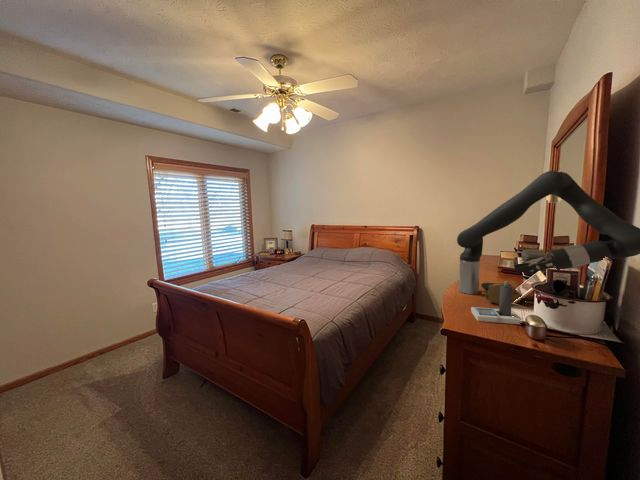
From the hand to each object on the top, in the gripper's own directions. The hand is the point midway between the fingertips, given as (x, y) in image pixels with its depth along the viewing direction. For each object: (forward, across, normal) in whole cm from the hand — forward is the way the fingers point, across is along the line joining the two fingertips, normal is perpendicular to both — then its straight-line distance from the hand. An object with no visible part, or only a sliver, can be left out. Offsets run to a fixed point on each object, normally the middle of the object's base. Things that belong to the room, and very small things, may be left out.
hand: (515, 269), depth 103 cm
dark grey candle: (+10, -1, +18) cm, 21 cm away
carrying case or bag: (+9, -43, +16) cm, 46 cm away
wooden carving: (+10, -20, +17) cm, 28 cm away
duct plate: (+13, 0, +17) cm, 22 cm away
